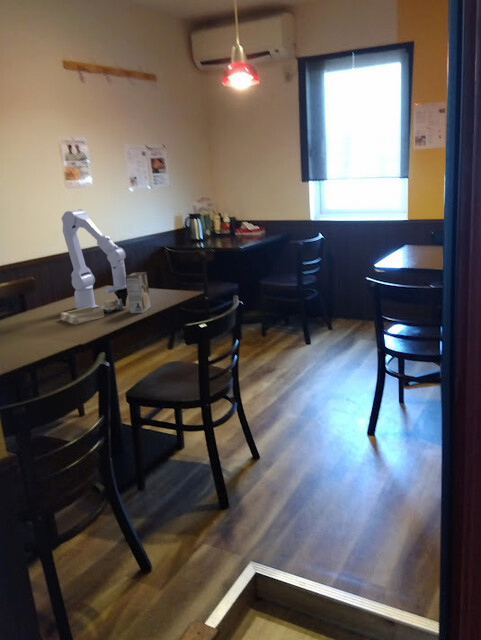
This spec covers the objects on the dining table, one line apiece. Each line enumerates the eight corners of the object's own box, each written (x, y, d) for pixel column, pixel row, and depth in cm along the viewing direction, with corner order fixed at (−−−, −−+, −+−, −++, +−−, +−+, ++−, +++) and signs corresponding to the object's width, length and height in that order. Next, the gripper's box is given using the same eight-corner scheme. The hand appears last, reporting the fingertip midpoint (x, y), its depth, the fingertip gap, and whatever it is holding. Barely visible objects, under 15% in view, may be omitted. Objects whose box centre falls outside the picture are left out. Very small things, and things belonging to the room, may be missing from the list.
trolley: (101, 312, 245) (99, 301, 244) (117, 308, 250) (115, 297, 249) (108, 314, 241) (106, 303, 239) (124, 310, 246) (122, 299, 244)
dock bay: (61, 319, 238) (60, 312, 237) (90, 312, 246) (89, 306, 245) (75, 324, 227) (74, 317, 227) (105, 317, 236) (104, 310, 235)
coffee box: (137, 307, 248) (133, 272, 244) (151, 307, 247) (146, 271, 242) (129, 313, 239) (124, 276, 235) (143, 312, 238) (139, 275, 234)
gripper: (108, 280, 237) (113, 310, 241) (138, 273, 246) (142, 303, 250) (101, 278, 243) (105, 308, 246) (130, 272, 252) (134, 301, 255)
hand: (123, 306), depth 249 cm, fingers closed
